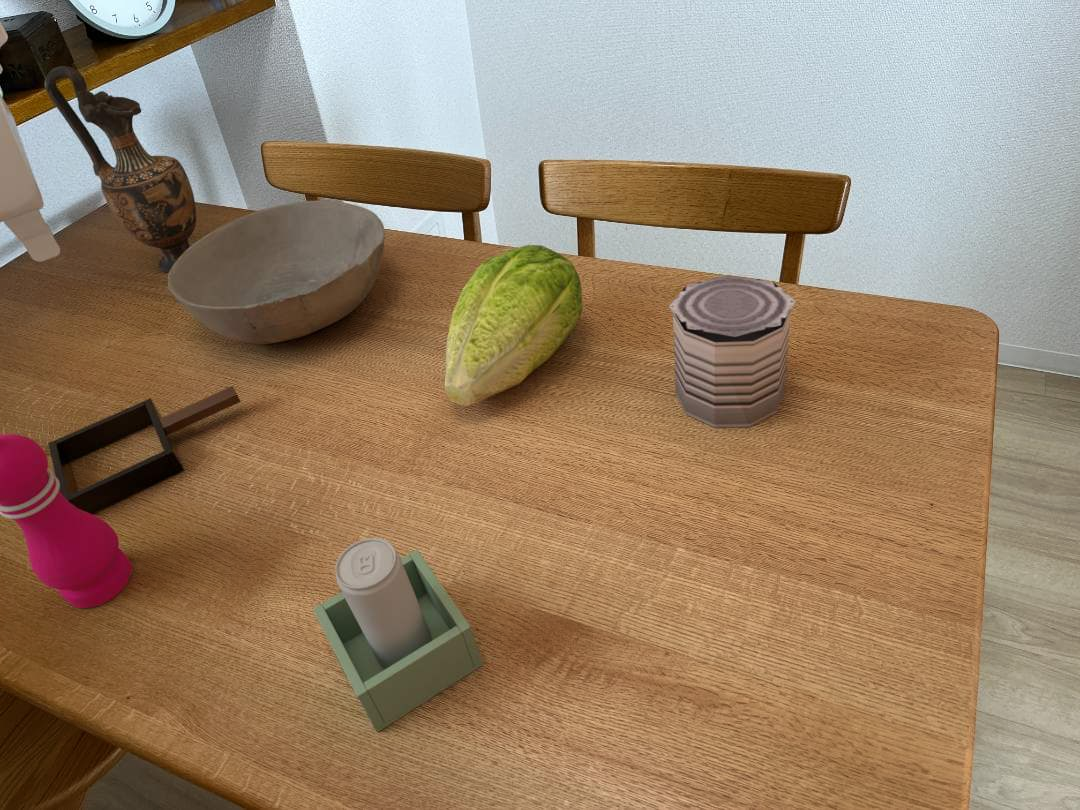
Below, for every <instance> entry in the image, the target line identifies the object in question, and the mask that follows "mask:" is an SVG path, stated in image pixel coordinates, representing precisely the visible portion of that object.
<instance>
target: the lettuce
mask: <svg viewBox="0 0 1080 810" xmlns="http://www.w3.org/2000/svg"><path fill="white" fill-rule="evenodd" d="M581 283H582V282H581V277H580V275H579V272H577V269H576V268H575V266H574V264H573V263H572V261H571V260H569V259H567V258H566V257H565V256H563V255H561V254H560V253H559V252H557V251H555V250H553V249H550V248H548V247H547V246H544V245H538V244H526V245H523V246H519V247H516V248H513V249H510V250H508V251H506V252H503V253H501V254H499V255H495V256H492V257H489V258H486V259H485V260H484V261H483V262H482V263H481V264H480V265H479V266H478V267H477V268H476V269H475V271H474V272H473V274H472V275H471V276H470V278H469V279H468V281H467V283H465V285H464V287H463V288H462V289H461V292H460V294H459V297H458V299H457V302H456V304H455V306H454V308H453V311H452V315H451V320H450V323H449V328H448V332H447V333H448V334H447V338H446V343H445V375H444V394H445V395H446V396H447V397H448V398H449V400H451V401H452V402H453V403H454V404H457V405H459V406H462V407H464V408H465V407H468V406H471V405H474V404H476V403H479V402H482V401H483V400H486V399H488V398H489V397H492V396H494V395H497V394H500V393H502V392H504V391H506V390H509V389H511V388H513V387H516V386H518V385H520V384H521V383H522V382H523V381H524V380H525V379H527V378H528V376H529V375H530V374H532V372H534V370H536V369H538V368H539V367H540V366H541V365H542V364H544V363H545V362H546V361H548V360H549V359H550V358H551V357H552V356H553V355H554V354H555V353H556V352H557V351H558V350H559V348H561V347H562V345H563V344H564V343H565V342H566V341H567V340H568V339H569V337H570V336H571V334H572V332H573V331H574V329H575V328H576V326H577V325H578V323H579V320H580V318H581V315H582V312H583V289H582V284H581Z"/></svg>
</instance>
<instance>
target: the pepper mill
mask: <svg viewBox="0 0 1080 810" xmlns="http://www.w3.org/2000/svg"><path fill="white" fill-rule="evenodd" d="M48 467H49V459H48V454H46V452H45V450H44V449H43V447H42V446H41V445H40V444H38V443H37V441H35V440H34V439H32V438H30V437H28V436H26V435H22V434H18V433H17V434H16V433H5V434H0V515H1V516H2V517H4V518H6V519H8V520H13V521H15V523H17V525H18V526H19V528H20V530H21V532H22V533H23V535H24V538H25V542H26V546H27V554H28V559H29V563H30V565H31V568H32V571H33V573H34V574H35V576H36V577H37V578H38V580H39V581H40V582H41V583H42V584H43V585H45V586H46V587H48V588H50V589H54V590H58V592H59V594H60V595H61V596H62V597H63V599H64V600H65V601H66V602H67V604H69V605H70V606H72V607H74V608H77V609H91V608H95V607H97V606H100V605H103V604H105V603H107V602H108V601H110V600H112V599H113V598H114V597H116V596H117V595H119V594H120V592H121V591H122V590H123V589H124V588H125V587H126V586H127V585H128V582H129V581H130V579H131V576H132V573H133V565H132V562H131V561H130V559H129V557H128V556H127V554H126V553H124V551H123V550H122V549H121V548H120V541H119V536H118V534H117V533H116V531H115V530H114V529H113V527H111V526H110V524H109V523H108V522H106V521H105V520H104V519H102V518H100V517H99V516H97V515H95V514H90V513H87V512H85V511H82V510H80V509H78V508H76V507H75V506H74V505H72V504H71V503H69V502H68V501H67V499H66V498H65V497H64V496H63V495H62V494H61V492H60V491H59V488H60V483H59V480H58V479H57V478H56V476H55V473H54V471H52V470H51V469H49V468H48Z"/></svg>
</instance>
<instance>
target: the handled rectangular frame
mask: <svg viewBox="0 0 1080 810" xmlns="http://www.w3.org/2000/svg"><path fill="white" fill-rule="evenodd" d="M240 403H241V399H240V397H239V395H238V393H237V392H236V390H235V388H234V386H233V385H231V386H229V387H227V388H225V389H222V390H220V391H218V392H216V393H213V394H212V395H209V396H207V397H205V398H203V399H200V400H197V401H196V402H194V403H192V404H189V405H187V406H185V407H183V408H180V409H179V410H176V411H174V412H171V413H169V414H168V415H165V416H162V415H161V413H160V411H159V409H158V407H157V406H156V405H155V403H154V402H153V400H152V399H151V398H148V399H146V400H142V401H141V402H139V403H136V404H134V405H131V406H129V407H126V408H124V409H123V410H121V411H118V412H115V413H113V414H111V415H109V416H107V417H105V418H103V419H100V420H98V421H96V422H92V423H91V424H89V425H87V426H84V427H82V428H79V429H78V430H75V431H73V432H71V433H69V434H66V435H64V436H62V437H59V438H57V439H54V440H52V441H50V442H48V449H49V455H50V457H51V462H52V467H53V473H54V476H55V477H56V478H57V479H58V480H59V483H60V488H59V491H60V492H61V494H62V495H63V496H64V497H65V498H66V499H67V501H68V502H69V503H71V504H72V505H74V506H75V507H76V508H78V509H80V510H82V511H85V512H87V513H90V514H92V515H95V514H96V513H98V512H101V511H103V510H105V509H107V508H109V507H111V506H113V505H116V504H117V503H119V502H121V501H124V500H126V499H128V498H129V497H132V496H134V495H136V494H138V493H140V492H142V491H144V490H146V489H148V488H150V487H153V486H155V485H157V484H159V483H161V482H163V481H165V480H167V479H169V478H172V477H174V476H175V475H177V474H179V473H182V472H184V471H185V468H184V466H183V464H182V462H181V459H180V456H179V454H178V452H177V449H176V447H175V445H174V443H173V440H172V438H171V435H172V434H174V433H176V432H178V431H180V430H183V429H186V428H187V427H189V426H191V425H193V424H195V423H198V422H200V421H202V420H204V419H207V418H209V417H210V416H213V415H215V414H218V413H220V412H222V411H224V410H226V409H228V408H231V407H232V406H235V405H237V404H240ZM152 425H153V427H154V429H155V433H156V434H157V438H158V439H159V442H160V445H161V447H162V449H163V451H161V452H159V453H157V454H154V455H152V456H150V457H148V458H146V459H144V460H141V461H139V462H137V463H135V464H133V465H131V466H128V467H127V468H124V469H122V470H120V471H118V472H116V473H114V474H111V475H110V476H107V477H105V478H103V479H101V480H99V481H96V482H94V483H92V484H90V485H88V486H85V487H84V488H82V489H81V488H80V489H79V490H78V489H77V486H76V481H75V477H74V473H73V469H72V465H71V462H73V461H75V460H77V459H80V458H81V457H85V456H86V455H88V454H91V453H94V452H96V451H98V450H100V449H102V448H105V447H107V446H109V445H111V444H113V443H115V442H117V441H120V440H121V439H124V438H126V437H129V436H130V435H133V434H135V433H137V432H139V431H142V430H144V429H146V428H148V427H150V426H152Z"/></svg>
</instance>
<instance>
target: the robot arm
mask: <svg viewBox="0 0 1080 810" xmlns="http://www.w3.org/2000/svg"><path fill="white" fill-rule="evenodd" d="M8 39H9V36H8V33H7V31H6V30H5V27H4V26H3V24H2V22H1V21H0V48H1V47H2V46H3V45H5V44H6V43H7V42H8ZM3 70H4V69H3V67H2V65H1V64H0V75H1V74H2V72H3ZM30 163H31V162H30V160H29V158H28V155H27V152H26V149H25V146H24V143H23V141H22V138H21V135H20V132H19V129H18V127H17V124H16V120H15V118H14V115H13V114H12V112H11V110H10V108H9V107H8V105H7V103H6V101H5V100H4V98H3V97H2V94H1V93H0V223H2V222H3V223H4V225H5V227H7V228H8V230H10V231H11V232H12V233H13V235H15V237H16V238H17V239H18V240H19V241H20V242H21V244H22V245H23V247H24V248H25V250H26V251H27V253H28V255H29V256H30V257H31V259H32V260H33V261H35V262H38V263H42V262H45V261H48V260H50V259H54V258H56V257H58V256H59V255H60V254H61V248H60V245H59V243H58V242H59V241H58V240H57V239H56V237H55V236H54V234H53V232H52V230H51V228H50V227H49V225H48V223H46V220H45V219H44V217H43V215H42V213H41V210H42V209H43V208H44V200H43V199H44V198H43V196H42V193H41V189H40V188H39V184H38V183H37V179H36V178H35V175H34V172H33V168H32V166H31V164H30Z"/></svg>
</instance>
